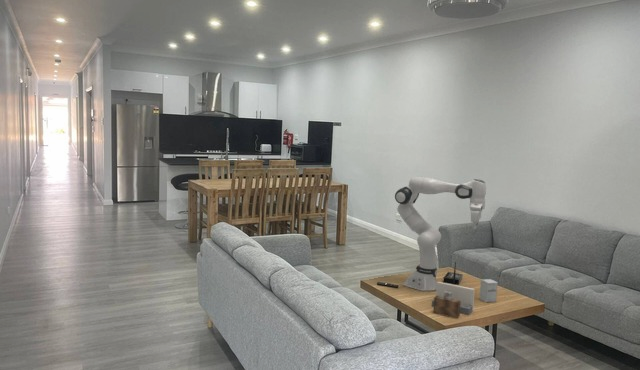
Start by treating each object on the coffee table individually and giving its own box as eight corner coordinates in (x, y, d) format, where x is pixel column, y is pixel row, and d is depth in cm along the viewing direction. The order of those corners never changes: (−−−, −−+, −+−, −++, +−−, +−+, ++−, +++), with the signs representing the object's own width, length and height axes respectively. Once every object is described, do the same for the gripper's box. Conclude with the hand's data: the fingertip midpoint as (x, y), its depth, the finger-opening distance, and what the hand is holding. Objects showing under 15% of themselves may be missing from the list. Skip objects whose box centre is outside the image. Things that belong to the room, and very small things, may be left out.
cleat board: (431, 306, 277) (433, 285, 276) (436, 302, 285) (438, 281, 284) (469, 314, 266) (470, 292, 264) (473, 310, 273) (474, 288, 272)
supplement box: (486, 302, 288) (487, 282, 286) (479, 298, 295) (480, 279, 293) (496, 302, 290) (498, 282, 288) (489, 297, 297) (490, 278, 295)
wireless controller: (445, 276, 341) (446, 253, 339) (464, 279, 335) (466, 256, 333) (439, 283, 323) (441, 259, 321) (460, 287, 317) (461, 262, 315)
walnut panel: (433, 312, 268) (434, 290, 267) (435, 310, 271) (436, 288, 270) (457, 318, 260) (459, 295, 259) (459, 316, 264) (461, 293, 262)
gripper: (474, 203, 299) (472, 224, 300) (469, 207, 280) (468, 229, 281) (484, 204, 296) (482, 225, 297) (480, 208, 277) (478, 230, 279)
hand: (475, 227), depth 289 cm, fingers open, 8 cm apart
